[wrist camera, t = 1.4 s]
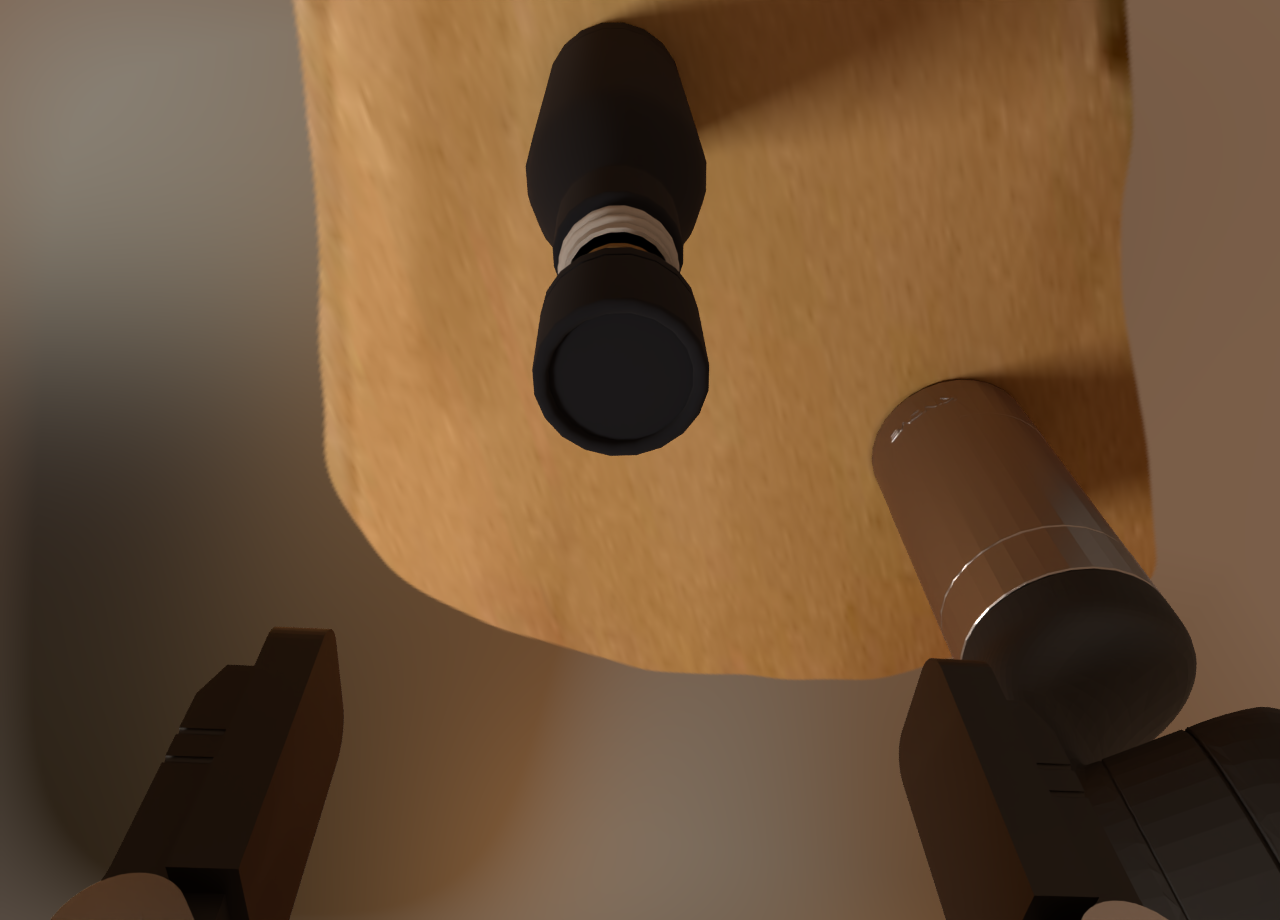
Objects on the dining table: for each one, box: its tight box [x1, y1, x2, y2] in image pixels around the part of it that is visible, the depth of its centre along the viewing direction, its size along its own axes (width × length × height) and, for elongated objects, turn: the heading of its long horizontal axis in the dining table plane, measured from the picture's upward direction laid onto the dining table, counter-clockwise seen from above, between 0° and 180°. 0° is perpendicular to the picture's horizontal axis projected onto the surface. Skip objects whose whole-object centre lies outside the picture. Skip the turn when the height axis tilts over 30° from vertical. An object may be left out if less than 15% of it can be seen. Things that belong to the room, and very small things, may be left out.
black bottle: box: [526, 23, 709, 456], centre depth 34 cm, size 6×6×30 cm
